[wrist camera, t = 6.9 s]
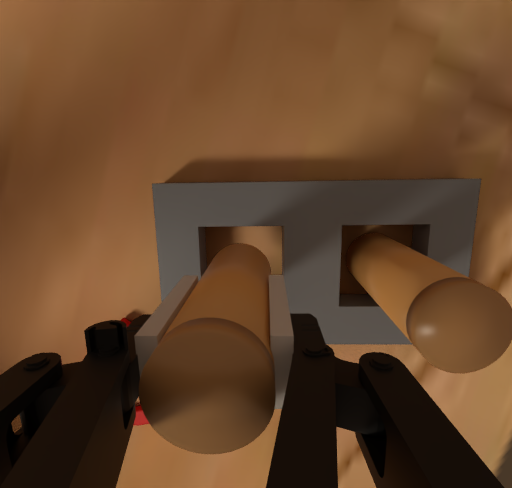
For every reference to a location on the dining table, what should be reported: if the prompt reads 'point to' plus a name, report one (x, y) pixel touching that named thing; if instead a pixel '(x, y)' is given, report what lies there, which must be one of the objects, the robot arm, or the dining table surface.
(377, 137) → the dining table surface
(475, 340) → the cylinder
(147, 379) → the peg
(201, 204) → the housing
